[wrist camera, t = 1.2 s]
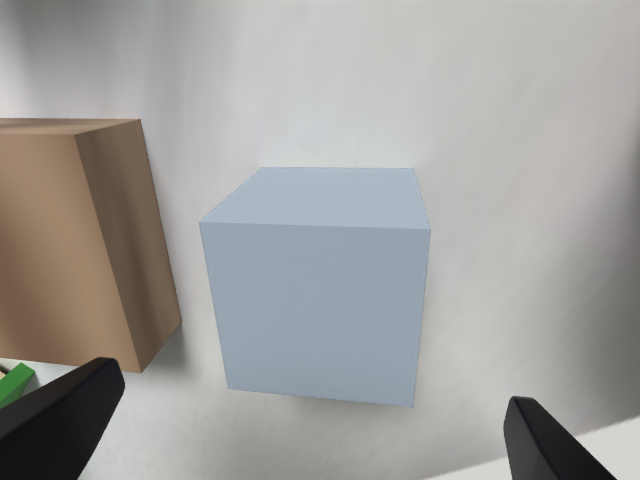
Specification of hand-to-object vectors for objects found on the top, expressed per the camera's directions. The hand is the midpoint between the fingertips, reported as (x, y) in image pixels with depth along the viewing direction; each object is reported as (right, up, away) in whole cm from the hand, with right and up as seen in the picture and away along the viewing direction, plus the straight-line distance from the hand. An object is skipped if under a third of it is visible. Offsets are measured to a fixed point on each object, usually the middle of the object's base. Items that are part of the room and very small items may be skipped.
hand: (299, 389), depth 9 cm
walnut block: (-12, +4, +10) cm, 16 cm away
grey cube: (+1, +4, +8) cm, 9 cm away
